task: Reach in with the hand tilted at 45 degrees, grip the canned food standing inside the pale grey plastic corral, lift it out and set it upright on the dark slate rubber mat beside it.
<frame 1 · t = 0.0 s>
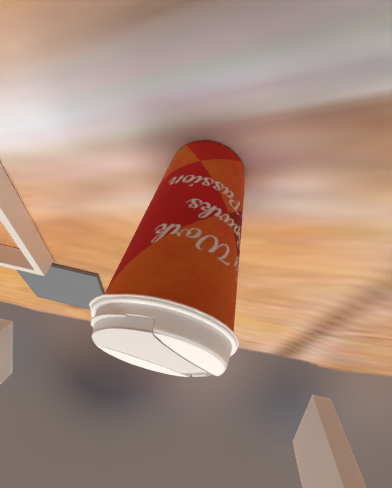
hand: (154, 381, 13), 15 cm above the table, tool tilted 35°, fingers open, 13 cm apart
mat: (64, 285, 46), on the table
paper cup: (207, 169, 23), on the table
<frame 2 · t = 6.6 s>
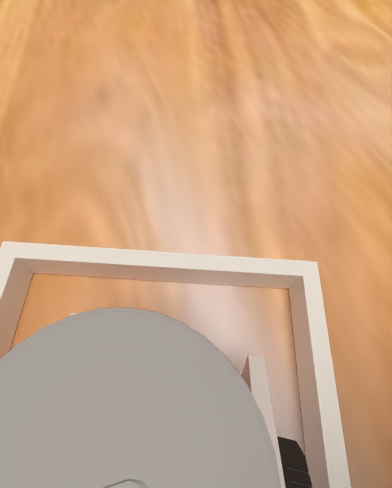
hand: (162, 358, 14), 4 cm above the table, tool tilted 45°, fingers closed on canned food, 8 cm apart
canned food: (148, 430, 16), resting in corral, touching gripper
corral: (148, 431, 16), on the table
when the fingers open (5 cm above the table, at t = 13.3 s): canned food drops 1 cm, resting on mat.
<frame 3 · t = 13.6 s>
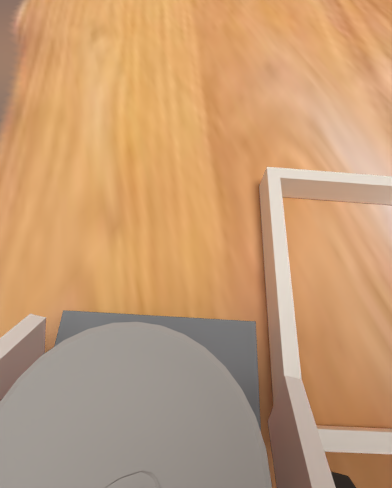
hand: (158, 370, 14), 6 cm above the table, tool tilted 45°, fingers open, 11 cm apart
canned food: (151, 429, 17), resting on mat
mat: (150, 427, 18), on the table
corral: (390, 297, 22), on the table
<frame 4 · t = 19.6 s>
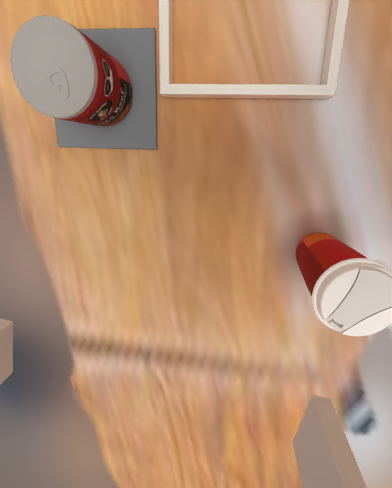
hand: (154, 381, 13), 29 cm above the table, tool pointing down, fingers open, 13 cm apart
canned food: (104, 92, 36), resting on mat
mat: (104, 92, 36), on the table
paper cup: (317, 251, 40), on the table
corral: (250, 1, 32), on the table
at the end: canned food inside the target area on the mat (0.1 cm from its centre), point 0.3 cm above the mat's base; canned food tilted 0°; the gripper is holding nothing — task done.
